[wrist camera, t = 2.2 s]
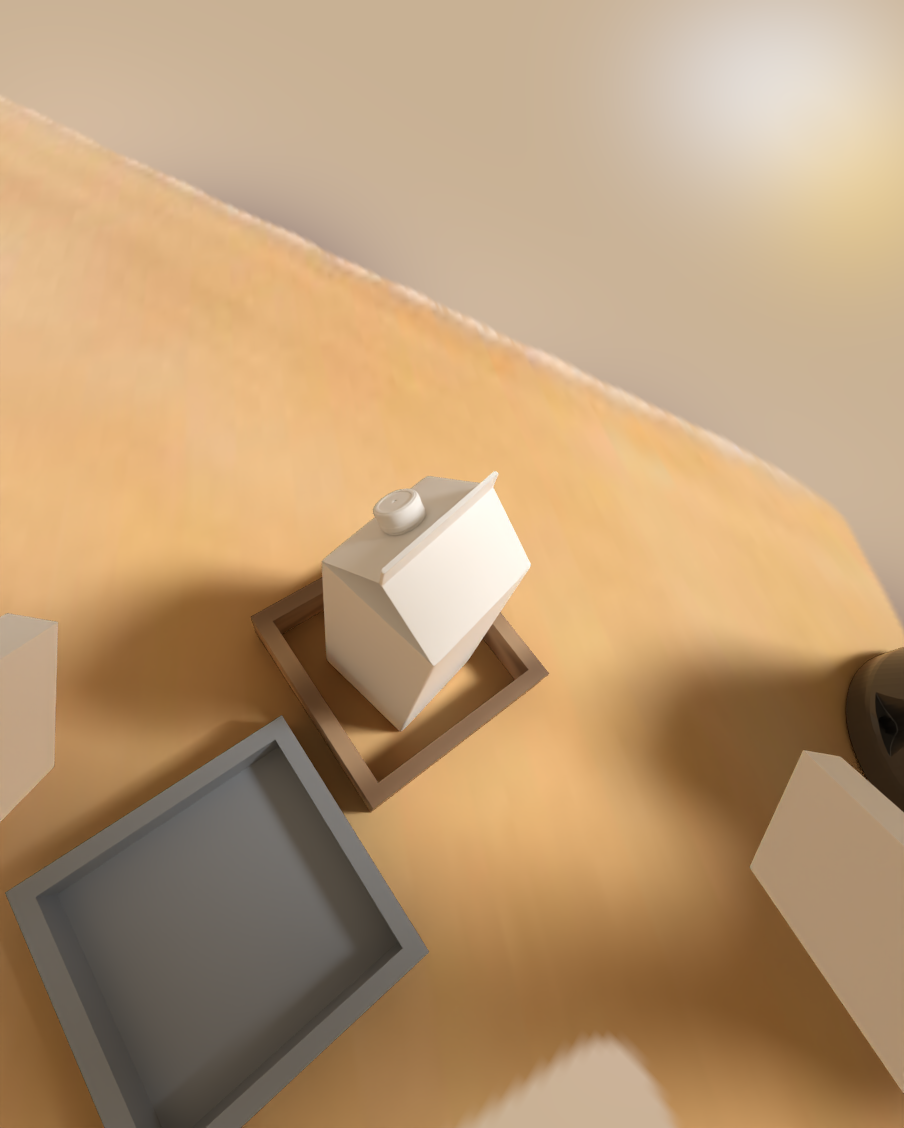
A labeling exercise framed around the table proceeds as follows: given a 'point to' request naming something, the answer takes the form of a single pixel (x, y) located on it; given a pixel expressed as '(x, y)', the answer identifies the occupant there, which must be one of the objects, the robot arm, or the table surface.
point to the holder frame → (372, 793)
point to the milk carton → (419, 591)
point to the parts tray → (214, 939)
